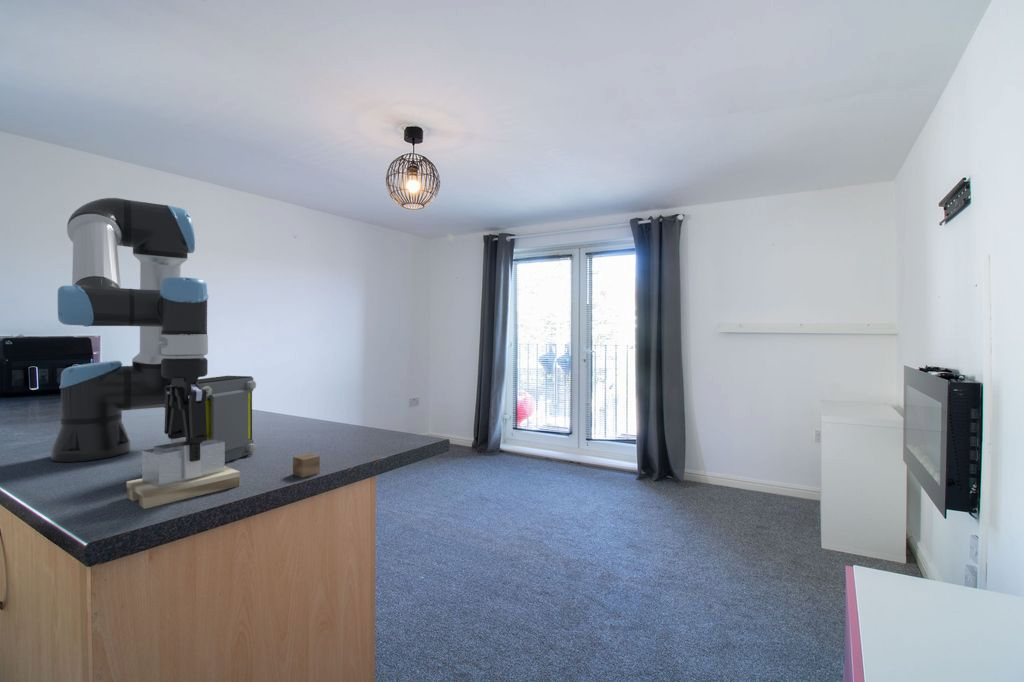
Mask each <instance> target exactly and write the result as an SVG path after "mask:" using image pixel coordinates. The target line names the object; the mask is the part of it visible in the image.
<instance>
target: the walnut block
mask: <svg viewBox="0 0 1024 682" xmlns="http://www.w3.org/2000/svg"><path fill="white" fill-rule="evenodd" d="M320 458H321V456H320V455H317V454H314V453H311V452H309V453H305V454H300V455H296V456H292V475H295V476H297V477H300V478H307V477H311V476H316V475H318V474H320V473H321V471H320V469H321V467H320V466H321V465H320V464H321V463H320V462H321V459H320Z"/></svg>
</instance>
